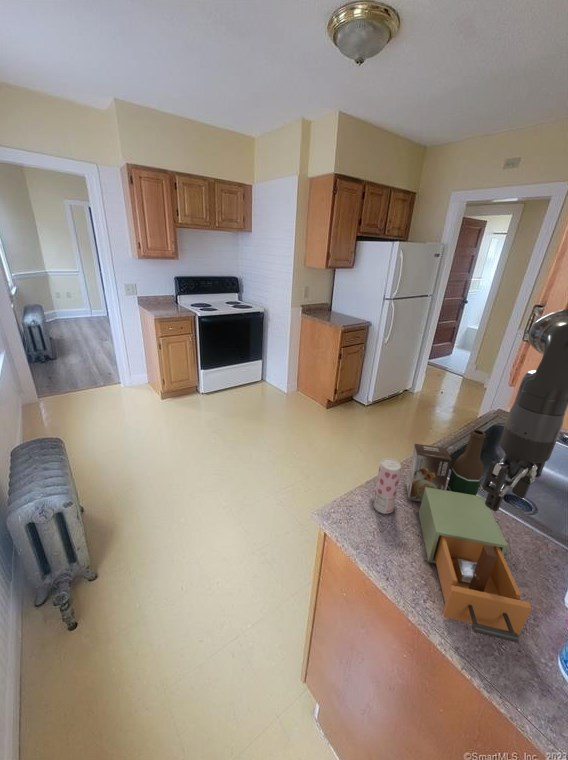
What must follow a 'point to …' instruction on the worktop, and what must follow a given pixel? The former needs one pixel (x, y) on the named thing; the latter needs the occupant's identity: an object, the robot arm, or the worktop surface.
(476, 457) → the beer bottle
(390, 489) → the beverage can
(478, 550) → the drawer
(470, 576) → the scoop
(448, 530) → the cabinet
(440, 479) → the coffee box
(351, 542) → the worktop surface
